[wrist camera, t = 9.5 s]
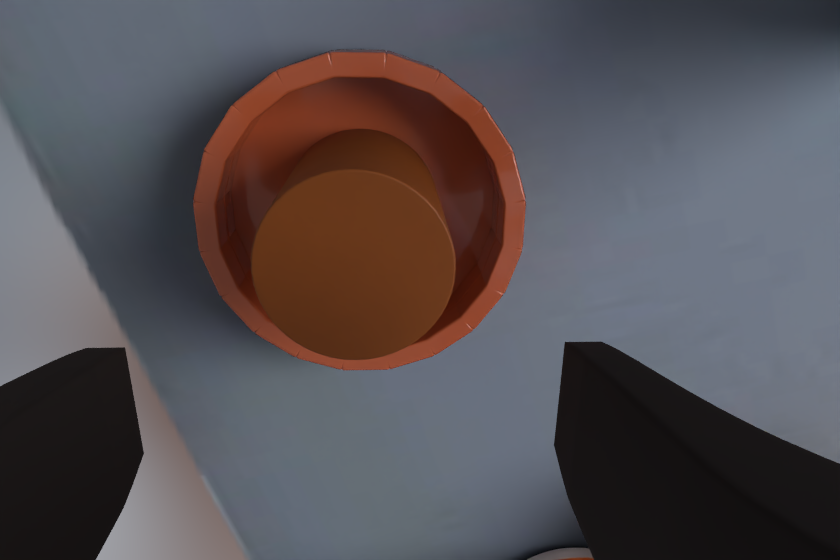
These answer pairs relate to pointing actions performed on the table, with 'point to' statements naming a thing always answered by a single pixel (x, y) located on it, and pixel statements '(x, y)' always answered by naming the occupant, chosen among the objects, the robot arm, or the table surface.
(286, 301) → the brown cylinder
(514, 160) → the terracotta bowl
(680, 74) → the table surface
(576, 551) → the pill bottle
